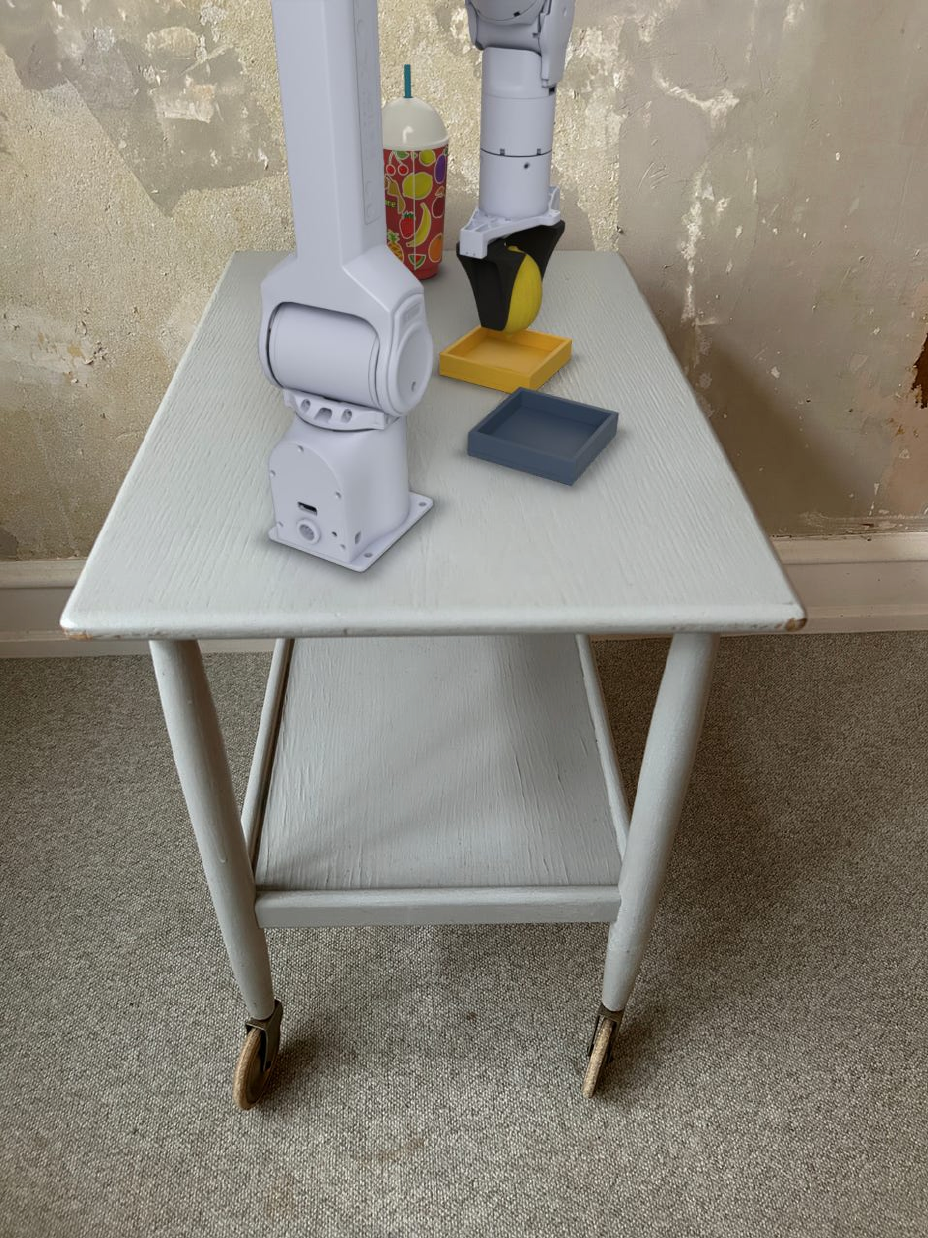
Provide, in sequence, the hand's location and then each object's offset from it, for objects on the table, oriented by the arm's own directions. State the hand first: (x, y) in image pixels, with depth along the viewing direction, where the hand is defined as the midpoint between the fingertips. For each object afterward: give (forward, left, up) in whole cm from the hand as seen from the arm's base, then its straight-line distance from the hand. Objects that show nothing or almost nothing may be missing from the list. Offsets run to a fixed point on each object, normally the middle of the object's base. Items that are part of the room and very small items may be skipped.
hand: (508, 315), depth 80 cm
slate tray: (-11, -9, -5) cm, 15 cm away
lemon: (0, 0, -2) cm, 2 cm away
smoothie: (+16, +20, -5) cm, 26 cm away
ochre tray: (0, 0, -5) cm, 5 cm away
